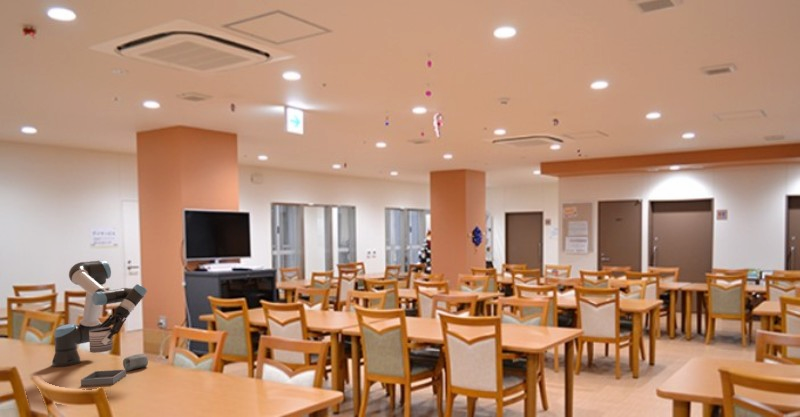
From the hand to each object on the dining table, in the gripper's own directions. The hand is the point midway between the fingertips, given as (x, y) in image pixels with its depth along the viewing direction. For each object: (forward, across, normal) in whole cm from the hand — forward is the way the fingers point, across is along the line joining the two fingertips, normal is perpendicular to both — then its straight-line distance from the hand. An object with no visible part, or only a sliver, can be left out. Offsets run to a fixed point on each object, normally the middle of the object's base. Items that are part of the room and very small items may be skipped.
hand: (97, 342), depth 314 cm
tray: (+13, 0, -17) cm, 22 cm away
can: (+2, 0, -5) cm, 5 cm away
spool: (-3, +9, -33) cm, 35 cm away
